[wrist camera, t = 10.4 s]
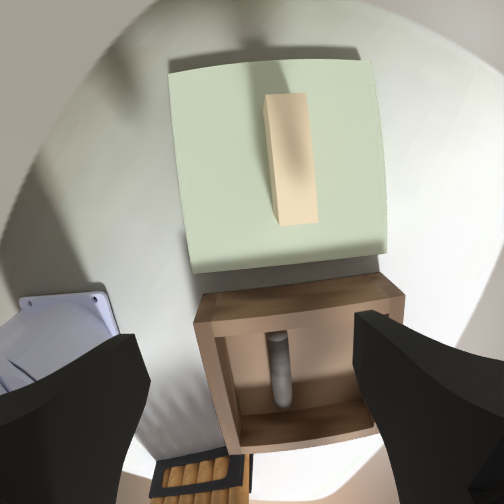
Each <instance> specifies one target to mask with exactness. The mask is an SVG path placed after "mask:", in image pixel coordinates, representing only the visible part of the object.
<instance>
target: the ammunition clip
mask: <svg viewBox="0 0 504 504" xmlns="http://www.w3.org/2000/svg"><path fill="white" fill-rule="evenodd" d="M252 471H253V454H237V455H229V453H228V450H227V447H226V446H224V447H221V448H217V449H213V450H209V451H205V452H200V453H196V454H191V455H187V456H182V457H177V458H171V459H166V460H160V461H157V462H156V466H155V470H154V475H153V479H152V483H151V488H150V492H149V498H150V499H151V502H150V504H249V493H251V490H252Z"/></svg>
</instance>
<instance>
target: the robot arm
mask: <svg viewBox="0 0 504 504" xmlns="http://www.w3.org/2000/svg"><path fill="white" fill-rule="evenodd" d="M94 297H96V298H97V301H96V300H95V299H94ZM31 303H32V304H31ZM19 305H20V308H21V310H22V311H20V312H19V313H18V314H16V315H15V316H14V317H12V318H11V319H10V320H8V321H7V322H6V323H5V324H3V325H2V326H1V327H0V504H116V497H117V491H118V485H119V480H120V476H121V472H122V467H123V463H124V460H125V457H126V454H127V451H128V448H129V446H130V443H131V441H132V438H133V436H134V433H135V430H136V428H137V425H138V423H139V420H140V418H141V415H142V413H143V410H144V407H145V405H146V400H147V396H148V392H149V387H150V383H151V380H150V377H149V375H148V372H147V369H146V366H145V364H144V361H143V358H142V355H141V352H140V349H139V346H138V343H137V340H136V337H135V334H119V332H118V329H117V326H116V322H115V319H114V316H113V313H112V310H111V306H110V303H109V300H108V297H107V295H106V293H105V292H103V291H95V292H83V293H71V294H58V295H44V296H30V297H22V298H20V299H19ZM352 365H353V368H354V372H355V375H356V379H357V382H358V385H359V388H360V390H361V393H362V395H363V397H364V399H365V401H366V404H367V406H368V408H369V410H370V412H371V414H372V417H373V419H374V421H375V423H376V425H377V428H378V430H379V432H380V434H381V436H382V439H383V441H384V444H385V447H386V449H387V452H388V456H389V460H390V463H391V467H392V470H393V474H394V478H395V483H396V487H397V491H398V495H399V501H400V504H504V361H501V360H496V359H491V358H486V357H482V356H478V355H475V354H471V353H468V352H465V351H462V350H459V349H456V348H453V347H450V346H448V345H445V344H443V343H440V342H438V341H436V340H433V339H431V338H429V337H426V336H424V335H422V334H420V333H418V332H416V331H414V330H412V329H410V328H408V327H406V326H404V325H402V324H400V323H399V322H397V321H395V320H393V319H391V318H389V317H387V316H385V315H383V314H381V313H379V312H377V311H375V310H366V311H360V312H354V337H353V358H352Z"/></svg>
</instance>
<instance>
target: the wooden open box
mask: <svg viewBox="0 0 504 504" xmlns="http://www.w3.org/2000/svg"><path fill="white" fill-rule="evenodd" d="M404 306H405V294H404V293H403V292H402V291H401V290H400V289H398V288H397V287H396V286H395V285H394V284H393V283H392V282H391V281H390V280H389V279H387V278H386V277H385V276H384V275H383V274H382V273H381V272H377V273H370V274H363V275H357V276H350V277H343V278H335V279H328V280H321V281H313V282H305V283H298V284H290V285H282V286H273V287H265V288H256V289H247V290H238V291H229V292H220V293H210V294H203V297H202V299H201V302H200V305H199V308H198V311H197V313H196V316H195V319H194V322H193V325H194V330H195V334H196V338H197V342H198V346H199V350H200V354H201V358H202V362H203V366H204V370H205V374H206V378H207V381H208V385H209V389H210V392H211V396H212V400H213V403H214V407H215V410H216V414H217V417H218V420H219V424H220V427H221V430H222V434H223V437H224V440H225V443H226V447H227V450H228V453H229V455H237V454H255V453H268V452H278V451H287V450H295V449H303V448H309V447H316V446H322V445H328V444H333V443H338V442H343V441H348V440H353V439H357V438H362V437H366V436H370V435H374V434H378V433H380V432H379V430H378V428H377V425H376V423H375V421H374V419H373V417H372V414H371V412H370V410H369V408H368V406H367V404H366V401H365V399H364V397H363V395H362V393H361V390H360V388H359V385H358V382H357V379H356V375H355V372H354V368H353V365H352V358H353V337H354V312H360V311H366V310H375V311H377V312H379V313H381V314H383V315H385V316H387V317H389V318H391V319H393V320H395V321H397V322H399V323H400V324H402V325H403V317H404Z"/></svg>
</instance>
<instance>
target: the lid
mask: <svg viewBox="0 0 504 504" xmlns="http://www.w3.org/2000/svg"><path fill="white" fill-rule="evenodd" d="M168 79H169V92H170V105H171V116H172V127H173V137H174V146H175V155H176V164H177V172H178V181H179V188H180V196H181V203H182V211H183V218H184V224H185V231H186V238H187V244H188V250H189V256H190V262H191V268H192V274H199V273H209V272H219V271H230V270H240V269H249V268H259V267H269V266H279V265H288V264H297V263H307V262H316V261H325V260H334V259H343V258H351V257H360V256H369V255H377V254H385V253H387V196H386V176H385V162H384V150H383V139H382V130H381V121H380V113H379V106H378V99H377V92H376V86H375V80H374V74H373V68H372V63H371V61H360V60H342V59H287V60H268V61H255V62H244V63H234V64H226V65H218V66H211V67H205V68H198V69H192V70H187V71H181V72H176V73H171V74H168Z"/></svg>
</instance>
